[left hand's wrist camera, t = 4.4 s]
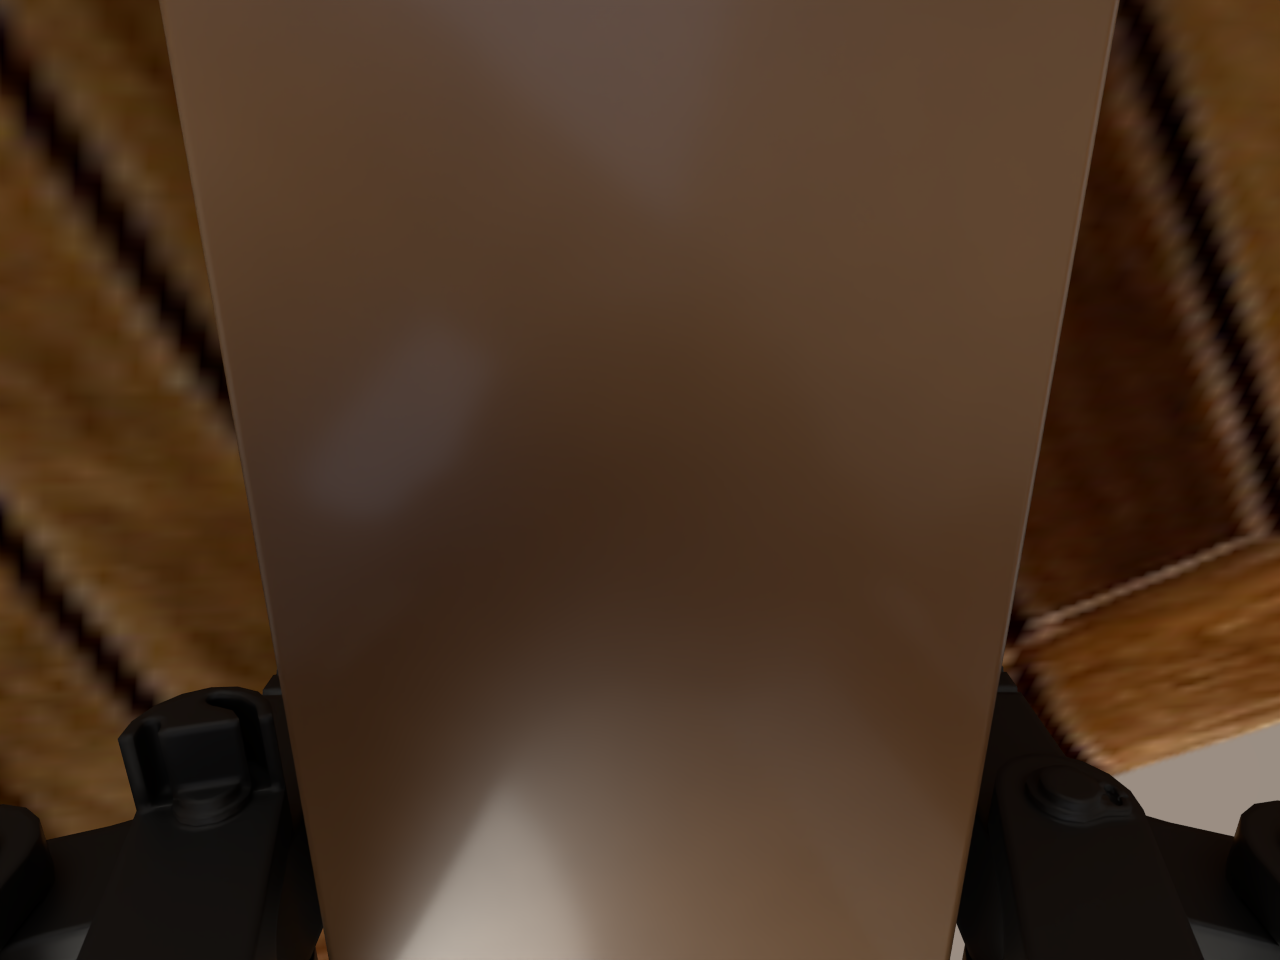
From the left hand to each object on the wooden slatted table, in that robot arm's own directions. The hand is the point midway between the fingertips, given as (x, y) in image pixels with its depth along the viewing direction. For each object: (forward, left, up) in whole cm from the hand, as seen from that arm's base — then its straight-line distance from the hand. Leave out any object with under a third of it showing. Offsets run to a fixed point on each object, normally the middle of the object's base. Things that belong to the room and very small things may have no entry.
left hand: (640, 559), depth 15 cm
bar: (-7, +4, -1) cm, 8 cm away
